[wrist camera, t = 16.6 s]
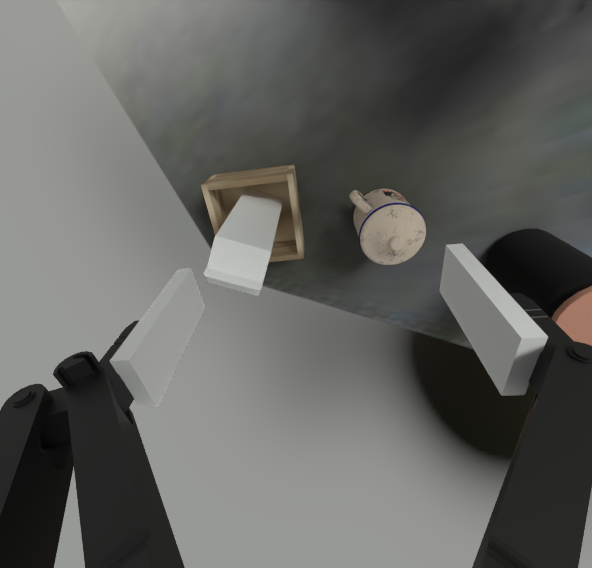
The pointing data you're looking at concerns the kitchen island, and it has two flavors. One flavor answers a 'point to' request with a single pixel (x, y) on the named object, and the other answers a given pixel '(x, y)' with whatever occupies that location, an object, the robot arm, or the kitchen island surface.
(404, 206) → the teacup with lid
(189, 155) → the kitchen island surface
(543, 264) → the coffee jar
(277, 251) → the holder
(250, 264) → the milk
